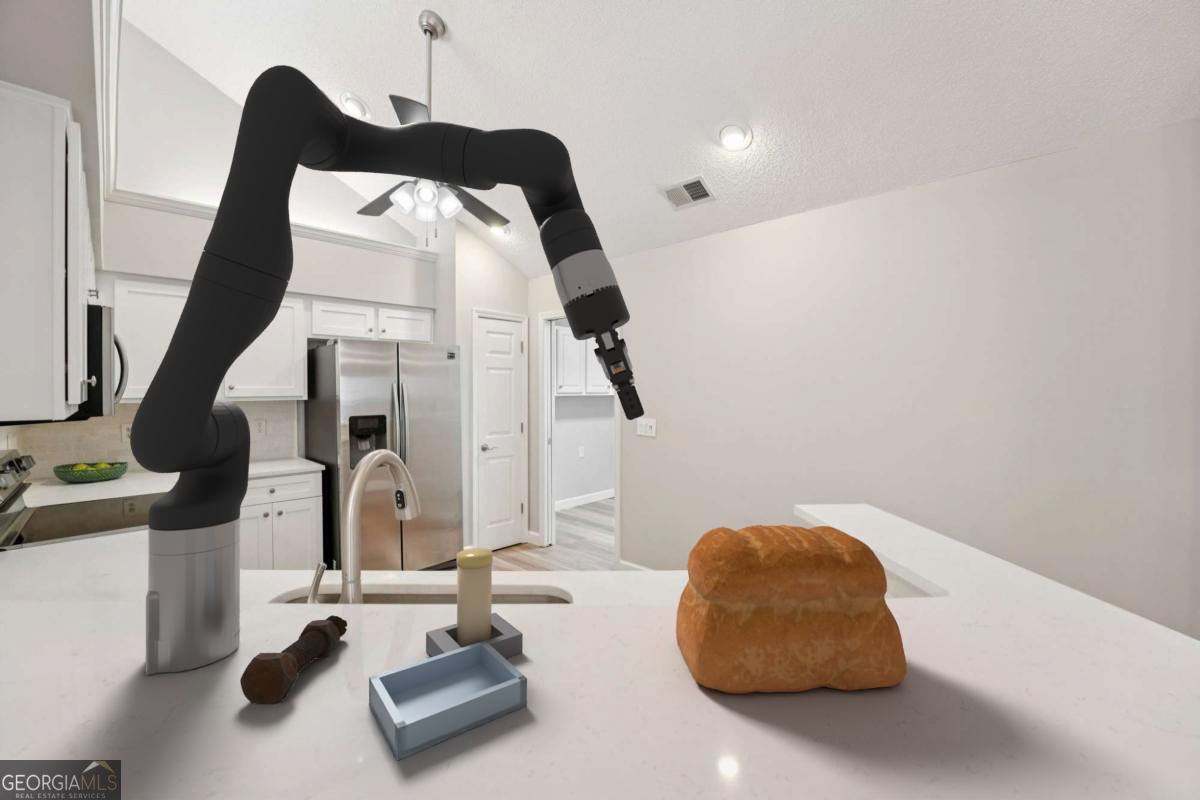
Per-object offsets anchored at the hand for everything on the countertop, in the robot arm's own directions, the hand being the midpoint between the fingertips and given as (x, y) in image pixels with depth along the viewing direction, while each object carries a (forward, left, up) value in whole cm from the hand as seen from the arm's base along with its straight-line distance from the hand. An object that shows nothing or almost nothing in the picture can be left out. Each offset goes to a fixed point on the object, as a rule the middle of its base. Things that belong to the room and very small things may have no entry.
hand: (635, 416), depth 62 cm
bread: (+16, -11, -32) cm, 37 cm away
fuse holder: (-14, +15, -31) cm, 38 cm away
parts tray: (-21, +6, -31) cm, 39 cm away
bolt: (-33, +24, -32) cm, 52 cm away
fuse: (-14, +15, -31) cm, 38 cm away
